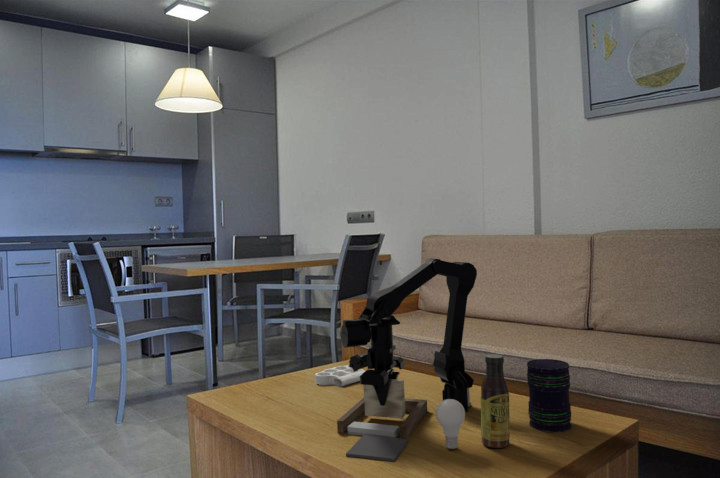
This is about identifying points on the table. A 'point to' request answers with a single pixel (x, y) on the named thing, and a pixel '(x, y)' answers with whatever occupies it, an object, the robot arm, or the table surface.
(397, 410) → the pale wooden block
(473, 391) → the table surface
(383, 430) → the offcut top
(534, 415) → the dark blue cylinder
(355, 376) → the knuckle duster
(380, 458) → the mat
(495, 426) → the sauce bottle
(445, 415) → the lightbulb
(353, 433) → the offcut bottom
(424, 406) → the frame
